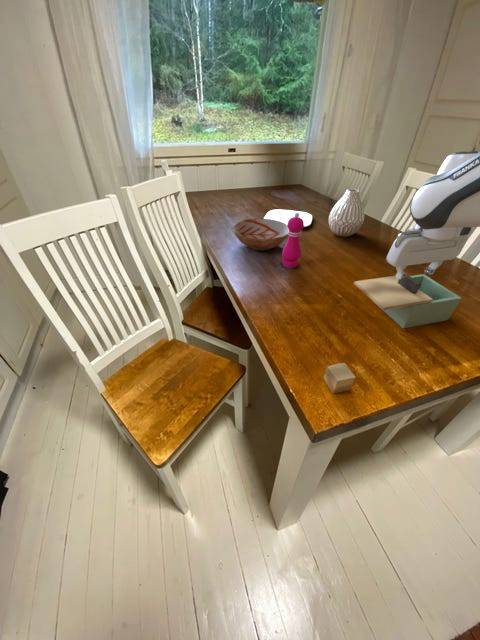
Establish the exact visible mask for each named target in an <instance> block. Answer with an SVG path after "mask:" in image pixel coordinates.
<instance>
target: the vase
mask: <svg viewBox="0 0 480 640" xmlns="http://www.w3.org/2000/svg"><path fill="white" fill-rule="evenodd" d="M364 221H365V208H364V205H363V202H362V199H361V192H360V190H359V189H356V188H347V189H346V190H345V193H344V194H343V196H342V197H341V198H340V199H338V200H337V202H336V203H335V204H334V205H333V207H332V208H331V210H330V213H329V215H328V227H329V229H330V231H331V232H332V233H333V234H334V236H335V235H336V236H337V237H343V238H347V237H351V236H353V235H355V234H356V233H357V232H359V230H361V228H362V226H363V224H364Z"/></svg>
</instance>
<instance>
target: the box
mask: <svg viewBox="0 0 480 640" xmlns="http://www.w3.org/2000/svg"><path fill="white" fill-rule="evenodd" d="M409 276H410V277H412V278H413V279H415V280H416V281H418V282H419V283H421V285H420V287H419V290H420V291H422V292H423V293H425V294H426V295H428V296H429V297H430V298H432V299H433V301H432V302H427V303H421V304H415V305H409V306H403V307H398V308H392V309H386V310H383V309H382V308H380V307H379V306H378V305H377V304H376V303H375V302H374V301H373V300H372V302H373V303H374V305H376V306H377V307H378V308H380V310H381V311H383V312H384V313H385V314H386V315H387V316H388V317H389V318H390V319H392V320H393V321H394V322H395V323H396V324H397V325H398V326H400V328H402V329H407V328H413V327H419V326H424V325H428V324H429V325H430V324H434V323H439V322H445V321H448V320H449V319H450V317H451V316H452V314H453V312H454V311H455V309H456V308H457V306H458V305H459V303H460V301H461V300H462V296H459V295H458V294H456V293H455V292H453V291H451V290H450V289H448V288H447V287H445V286H443V285H442V284H441V283H439V282H437V281H436V280H434V279H432V278H431V277H429V276H428V275H426V274H425V273H423V274H416V275H409Z"/></svg>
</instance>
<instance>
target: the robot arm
mask: <svg viewBox="0 0 480 640" xmlns="http://www.w3.org/2000/svg"><path fill="white" fill-rule="evenodd" d="M410 200H411V201H410V205H409V213H410V215H411V218H412V220H413V221H414V222H415V224H414V225H415V226H414V227H413V229H412V228H411V229H404V230H403V231H401V232H400V233H399V234H398V235H397V236H396V238H395V240H394V241H393V243H392V245H391V247H390V248H389V251H388V253H387V255H386V259H385V260H386V262H387V263H388V265H391V266H392V267H394V268H396V273H395V276H396V278H397V279H404V278H405V276H406V274H407V273H406V272H405V270H406V269H407V267H408V266H414V265H415V266H416V265H422V264H429V265H428V266H426V267H425V268H424V271H423V274H424V275H426V276H431V275H434V274H435V271H436V270H437V269H438V268H439V267H440V266H441V265H442V264H443V262H444V261H451V260H455V259H457V257H458V256H459V255H460V254H461V252H462V250H464V247H465V245H466V243H467V241H468V236H470V235H471V234H472V233H473V231H474V229H475V228H480V150H471V151H457V152H453V153H451V154H449V155H447V156H446V158H445V159H444V160H443V161H442V164H441V165H440V167H439V168H438V171H437V173H436V174H435V175H433V176H431V177H429V178H427V180H425V182H423V183H422V184H421V185H420V186H419V187H418V189H417V190H415V192H414V193H413V195H412V198H411V199H410Z"/></svg>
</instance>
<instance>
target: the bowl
mask: <svg viewBox="0 0 480 640" xmlns="http://www.w3.org/2000/svg"><path fill="white" fill-rule="evenodd" d="M288 230H289V229H288V227H287V224H285V223H283V222H280V221H277V220H272V219H264V217H263V218H262V217H261V218H260V217H258V218H257V217H256V218H248V219H247V218H246V219H243V220H240V221H239V220H238V221H237V222H236V223H234V224H233V225H232V231H233V233H234V235H235V237H236V238H237V240H238V241H239V242H240V243H241V244H243V245H244V246H245V247H248V248H249V249H252V250H254V251H262V252H263V251H268V250H271V249H273V248H276V247H278V246H279V245H281V244H282V243H284V241H285V240H286V239H287V237H288V234H287V233H288Z"/></svg>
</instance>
